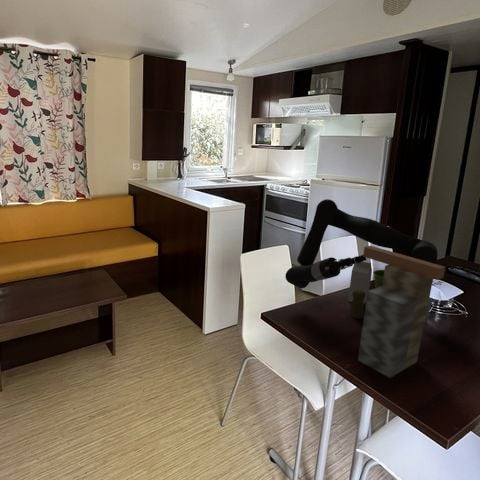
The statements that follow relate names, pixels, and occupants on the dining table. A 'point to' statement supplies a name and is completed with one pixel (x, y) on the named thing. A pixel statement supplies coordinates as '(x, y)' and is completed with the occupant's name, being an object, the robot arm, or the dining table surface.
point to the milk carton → (360, 279)
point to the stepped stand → (394, 321)
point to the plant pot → (378, 277)
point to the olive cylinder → (357, 304)
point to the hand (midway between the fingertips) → (358, 259)
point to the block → (405, 262)
